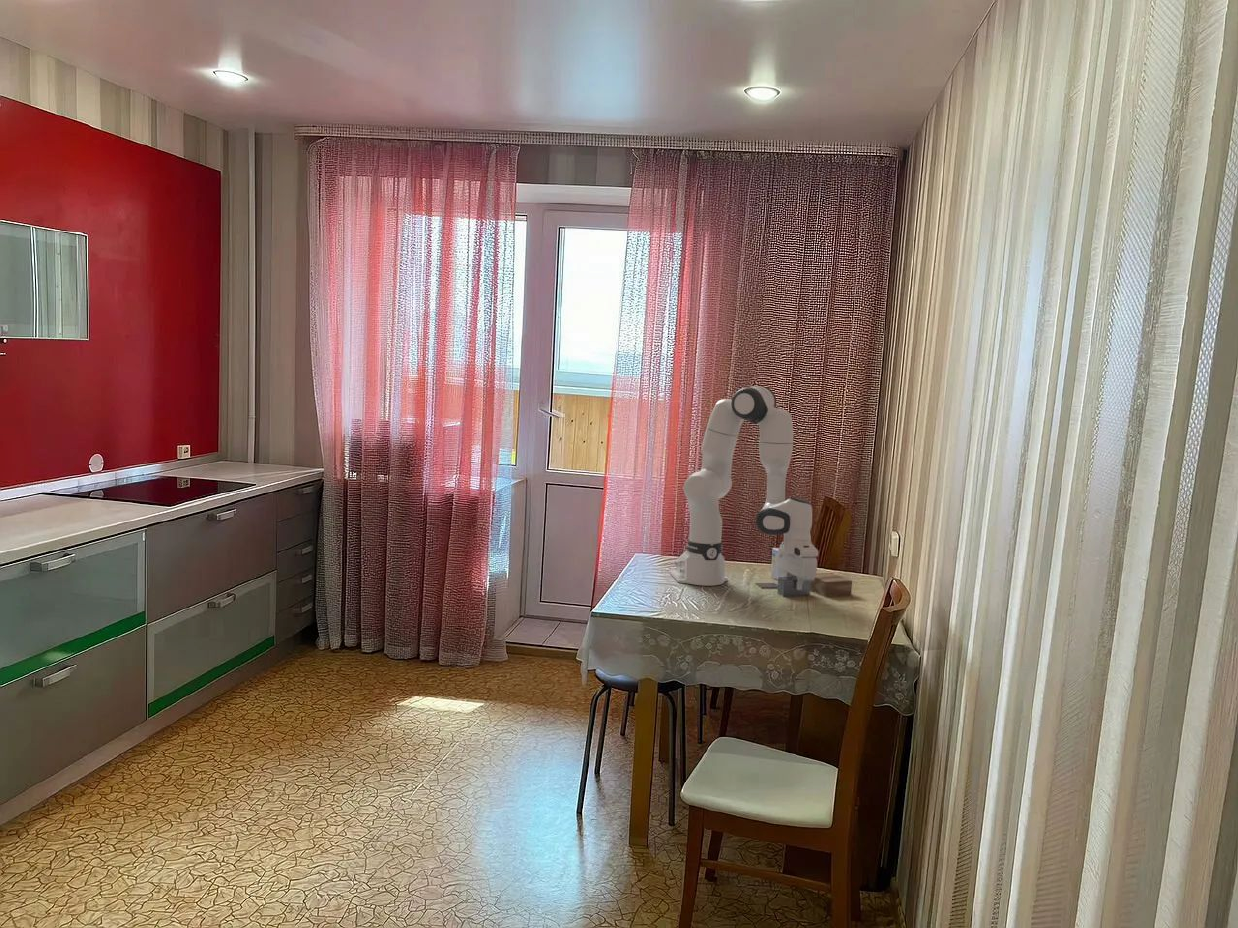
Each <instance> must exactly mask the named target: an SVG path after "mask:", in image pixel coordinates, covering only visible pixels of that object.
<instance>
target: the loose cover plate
mask: <svg viewBox="0 0 1238 928" xmlns="http://www.w3.org/2000/svg"><path fill="white" fill-rule="evenodd" d="M754 585H756V586H757V585H758V586H757V587H759V588H760V587H761V589H778V583H775V582H755V583H754Z"/></svg>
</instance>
